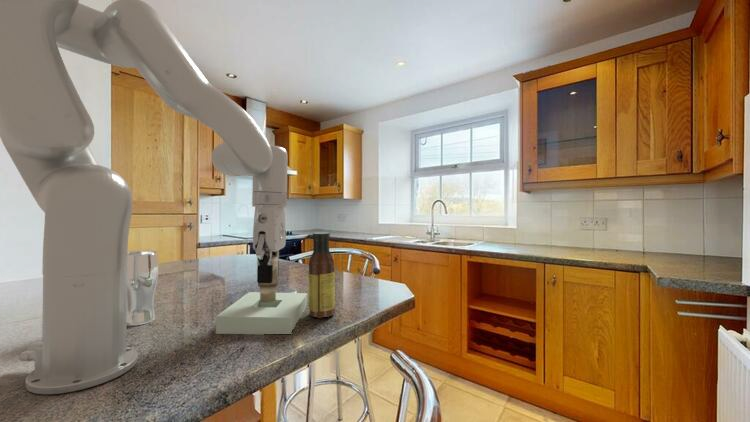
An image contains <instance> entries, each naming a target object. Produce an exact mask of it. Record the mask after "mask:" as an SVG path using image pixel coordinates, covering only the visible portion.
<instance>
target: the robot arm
mask: <svg viewBox="0 0 750 422" xmlns="http://www.w3.org/2000/svg"><path fill="white" fill-rule="evenodd" d="M79 1H80V0H0V140H1V142H2V144H3V146H4V148H5V150H6V152H7V153H8V155H9V157H10V158H11V160H12V162H13V164H14V166H15V167H16V169H17V171H18V173H19V174H20V176H21V178H22V180H23V182H24V184H25V185H26V187H27V188H28V190H29V192H30V193H31V196H32V197H33V199H34V201H35V202H36V204H37V205H38V206H39V208H40V209H41V211H43V212H44V228H43V241H42V242H43V243H42V244H43V245H42V269H41V271H42V272H41V273H42V326H41V328H42V329H41V330H42V332H41V334H42V337H41V338H42V339H41V341H33V342H31V343H30V344H29V345H28V346H27V348H26V350H25V351H22V352H21V353H20V354H19V355H18V359H19V361H20V362H34V369H33V370H32V371H31V372H30V373H28V375H27V376H26V377H25V379H24V380H25V381H24V382H25V389H26V390H27V391H28V392H30V393H32V394H37V395H57V394H58V395H59V394H67V393H73V392H76V391H77V392H78V391H82V390H86V389H88V388H89V389H90V388H93V387H96V386H99V385H101V384H104V383H107V382H110V381H112V380H114V379H116V378H118V377H120V376H122V375H124V374H125V373H127V372H129V371H130V370H131V369H132V368H133V367H135V365H136V364H137V363H138V359H139V355H138V354H139V353H138V351H137V350H136V349H134V348H133V347H129V346H127V326H126V322H127V252H128V249H129V248H128V247H129V234H130V225H131V221H132V214H133V194H132V192H131V188H130V186H129V184H128V183H127V181H126V180H125V179H124V178H123V176H121V175H120V174H119V173H118V172H116V171H114V170H113V169H110V168H109V167H105V166H103V165H99V164H98V162H97V160H96V158H95V156H94V154H93V152H92V150H91V147H90V145H91V143H93V142H92V141H93V140H94V137H95V126H94V123H93V122H94V121H93V120H92V118H91V115H90V113H89V112H88V110H87V109H86V107H85V105H84V103H83V100H82V99H81V96H80V94H79V93H78V91H77V88H76V87H75V85H74V82H73V81H72V79H71V76H70V74H69V72H68V70H67V68H66V65H65V63H64V60H63V58H62V56H61V55H62V54H61V53H60V50H59V49H63V50H65V51H69V52H71V53H73V54H77V55H80V56H84V57H86V58H89V59H93V60H96V61H98V62H101V63H105V64H107V65H108V64H109V65H111V66H115V67H119V68H124V69H136V71H137V72H138V73H139V74H140V75H141V76H142V77H143V79H144V80H145V81H146V82H147V83H148V85H149V86H150V87H151V88H152V89H153V91H154V92H155V93H156V94H157V96H158V97H159V98H160V99H161V100H162V101H163V103H164V104H165V105H166V106H167V107H169V109H171V110H173V111H175V113H176V112H177V113H179V114H181V115H183V116H185V117H189V118H192V119H194V120H196V121H198V122H200V123H202V124H203V125H204V126H207V127H208V128H209V129H211V130H212V131H213V132H214V133H216V135H217V136H218V137H219V138H221V140H222V141H223V142H221V143H219V144H217V146H215V147H214V148H213V150H212V152H211V163H212V165H213V167H214V168H215V169H216V170H217V171H218V172H219V173H221V174H223V175H225V176H230V177H241V176H242V177H244V176H249V177H250V176H251V177H252V189H251V190H252V194H251V195H252V196H251V197H252V198H251V207H252V208H254V216H253V217H254V218H253V229H252V248H253V250H254V251H255V256H256V259H257V260H256V265H257V268H256V272H257V275H256V277H257V279H256V282H257V284H258V283H272V277H273V265H271V260H272V256H278V277H280V274H279V272H280V271H279V270H280V267H279V266H280V264H279V263H280V261H279V260H280V250H282V249H284V248H285V247H286V236H287V234H286V214H285V208H287V207H288V205H287V203H288V201H287V200H288V194H287V193H288V163H289V162H288V159H289V158H288V151H287V150H286V148H284V147H282V146H279V145H271V144H270V142H269V141H268V139H267V137H266V135H265V134H264V133H263V132H262V130H261V129H260V127H259V126H258V124H257V123H256V121H255V120H254V119H253V117H252V116H251V115H250V114H249V113H248V112H247V111H246V110H245V109H244V108H243V107H242V106H240V105H239V104H238V103H237V102H235V101H234V100H233V99H231V98H230V97H229V96H228V95H227V94H225V93H224V92H223V91H221V90H219V89H218V88H217V87H215V86H214V85H213V84H211V83H210V82H209V80H208V79H207V78H206V76H205V75H204V74H203V73H202V71H201V70H200V68H199V67H198V65H197V64H196V63H195V62H194V60H193V58H192V57H191V56H190V55H189V53H188V52H187V51H186V49H185V48H184V47H183V45H182V44H181V43H180V42H181V41H179V40H178V38H177V37H176V36H175V34H174V33H173V32H172V31H171V29H170V28H169V26H168V25H167V24H166V22H165V20H163V18H162V17H161V16H160V14H159V13H158V12H157V11H156V10H155V8H153V7H152V6H151V5H149V4H148V3H147V2H144V1H143V0H115V1H113V2H112V3H110V4H109V5H108V6H107V7H106V8H105V9H104V10H103V11H101V10H97V9H95V8H92V7H91V6H87V5H85V4H83V3H80V2H79ZM267 256H268V258H267Z"/></svg>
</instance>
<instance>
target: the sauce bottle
mask: <svg viewBox="0 0 750 422" xmlns="http://www.w3.org/2000/svg"><path fill="white" fill-rule="evenodd" d="M330 234H331V233H330V232H327V231H325V232H324V231H323V232H322V231H321V232H317V231H316V232H313V233H312V240H313V248H312V254H311V256H310V258H309V260H308V310H309V315H310V317H312V316H313V317H312V318H314V317H319V318H318V319H323V318H322V317H328V316H331V315H333V314H334V315H335V311H336V293H335V292H336V289H335V288H336V285H335V284H336V281H335V280H336V276H335V275H336V273H335V260H334V259H333V256H332V254H331V251H330V238H331V236H330ZM334 315H333V316H334ZM331 317H332V316H331ZM328 318H329V317H328Z"/></svg>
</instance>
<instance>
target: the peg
mask: <svg viewBox="0 0 750 422" xmlns="http://www.w3.org/2000/svg"><path fill="white" fill-rule="evenodd" d="M267 258H268V256H267ZM278 261H279V260H278V256H272V260H271V265H273V277H272V283H258V282H257V286H258V287H259V288H260V289H259V292H260V301H261V302H273V301H275V300H276V293H277V286H279V276H278Z"/></svg>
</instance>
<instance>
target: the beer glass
mask: <svg viewBox="0 0 750 422" xmlns="http://www.w3.org/2000/svg"><path fill="white" fill-rule="evenodd" d="M158 278H159V259H158V251H156V250H135V251H133V250H132V251H127V322H126V327H136V326H141V325H146V324H149V323H152V322H153V321H154V320H155V319H156V314H155V310H154V297H155V293H156V289H157V286H158Z"/></svg>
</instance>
